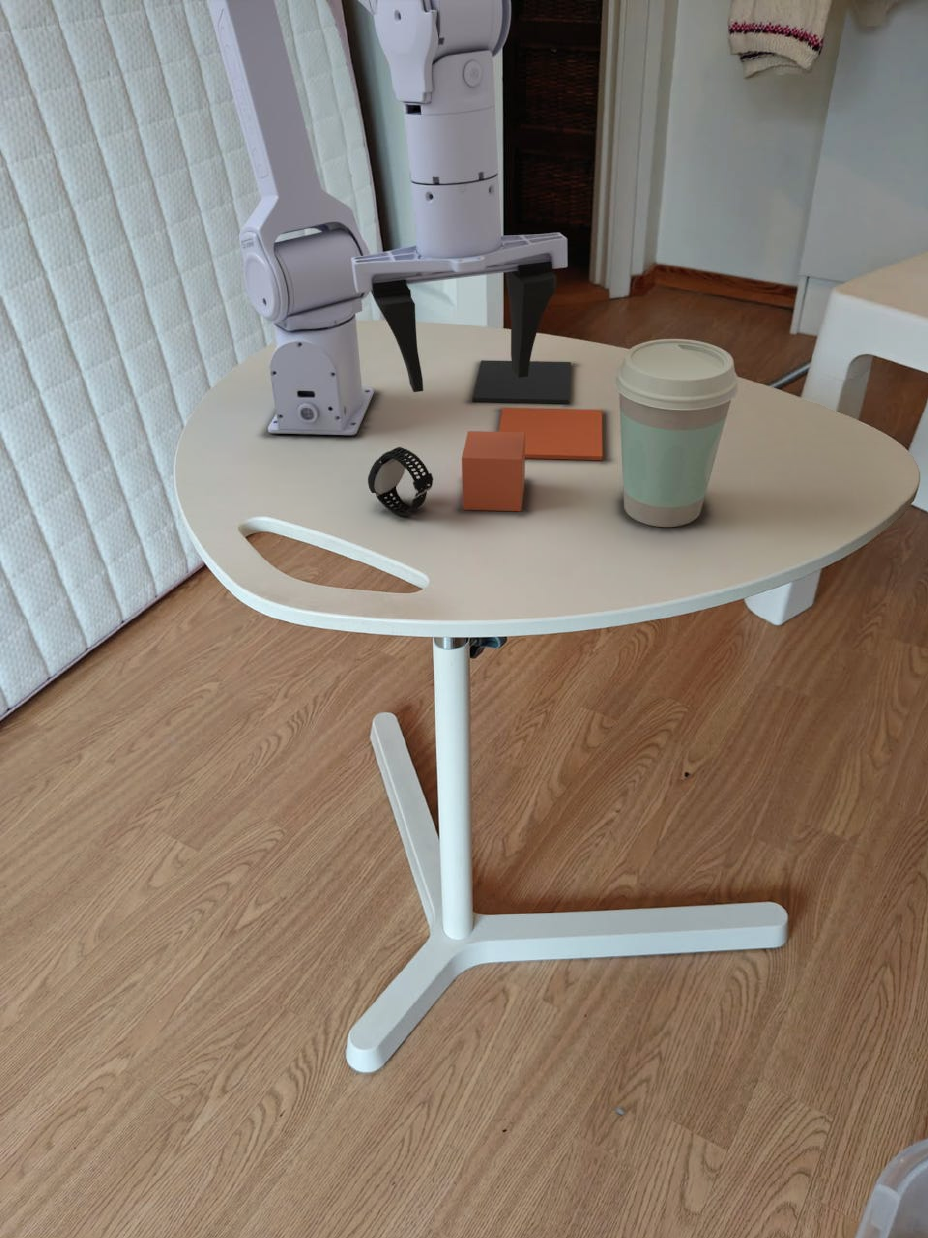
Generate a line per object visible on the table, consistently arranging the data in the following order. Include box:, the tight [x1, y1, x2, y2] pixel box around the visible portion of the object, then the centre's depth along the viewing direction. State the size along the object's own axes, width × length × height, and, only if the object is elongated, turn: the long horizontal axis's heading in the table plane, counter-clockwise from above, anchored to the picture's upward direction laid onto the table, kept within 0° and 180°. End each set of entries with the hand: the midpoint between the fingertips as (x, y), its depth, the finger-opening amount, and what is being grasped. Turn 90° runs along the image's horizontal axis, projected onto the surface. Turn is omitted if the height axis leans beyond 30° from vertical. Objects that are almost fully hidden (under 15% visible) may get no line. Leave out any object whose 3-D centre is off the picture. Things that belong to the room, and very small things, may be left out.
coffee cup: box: [614, 338, 739, 528], centre depth 72 cm, size 8×8×12 cm
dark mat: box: [471, 359, 572, 405], centre depth 95 cm, size 9×9×1 cm
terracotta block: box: [461, 430, 526, 512], centre depth 76 cm, size 4×4×4 cm
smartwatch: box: [367, 446, 434, 517], centre depth 74 cm, size 4×5×5 cm
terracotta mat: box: [498, 407, 604, 461], centre depth 86 cm, size 9×9×1 cm
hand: (468, 380), depth 71 cm, fingers open, 7 cm apart
